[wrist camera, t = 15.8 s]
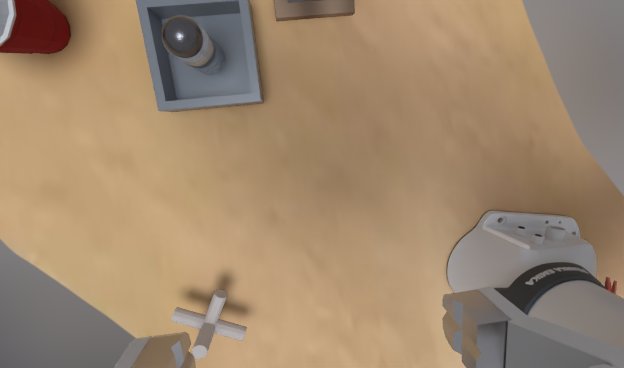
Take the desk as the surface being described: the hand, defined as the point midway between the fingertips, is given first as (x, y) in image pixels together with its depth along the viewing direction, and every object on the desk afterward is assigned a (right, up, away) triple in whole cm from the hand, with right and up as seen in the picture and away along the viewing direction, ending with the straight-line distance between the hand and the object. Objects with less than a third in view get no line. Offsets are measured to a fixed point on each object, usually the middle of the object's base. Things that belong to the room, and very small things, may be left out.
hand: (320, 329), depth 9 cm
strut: (-13, +21, +29) cm, 38 cm away
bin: (-13, +21, +29) cm, 38 cm away
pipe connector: (-15, -14, +37) cm, 42 cm away
